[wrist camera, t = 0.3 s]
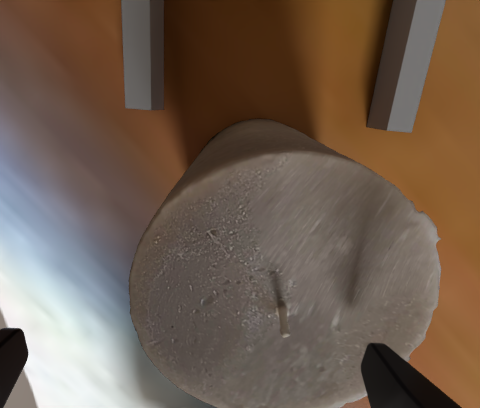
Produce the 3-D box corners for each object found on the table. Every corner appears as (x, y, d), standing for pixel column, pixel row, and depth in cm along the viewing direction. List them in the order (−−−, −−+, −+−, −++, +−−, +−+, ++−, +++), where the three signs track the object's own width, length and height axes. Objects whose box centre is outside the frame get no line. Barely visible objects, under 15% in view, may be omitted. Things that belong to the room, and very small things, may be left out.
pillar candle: (164, 180, 22) (25, 328, 8) (267, 87, 20) (338, 51, 6) (250, 267, 24) (265, 503, 10) (349, 193, 22) (547, 357, 8)
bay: (387, 128, 21) (411, 132, 18) (141, 107, 20) (125, 108, 17) (436, -78, 17) (475, -115, 14) (137, -108, 17) (115, -153, 14)
